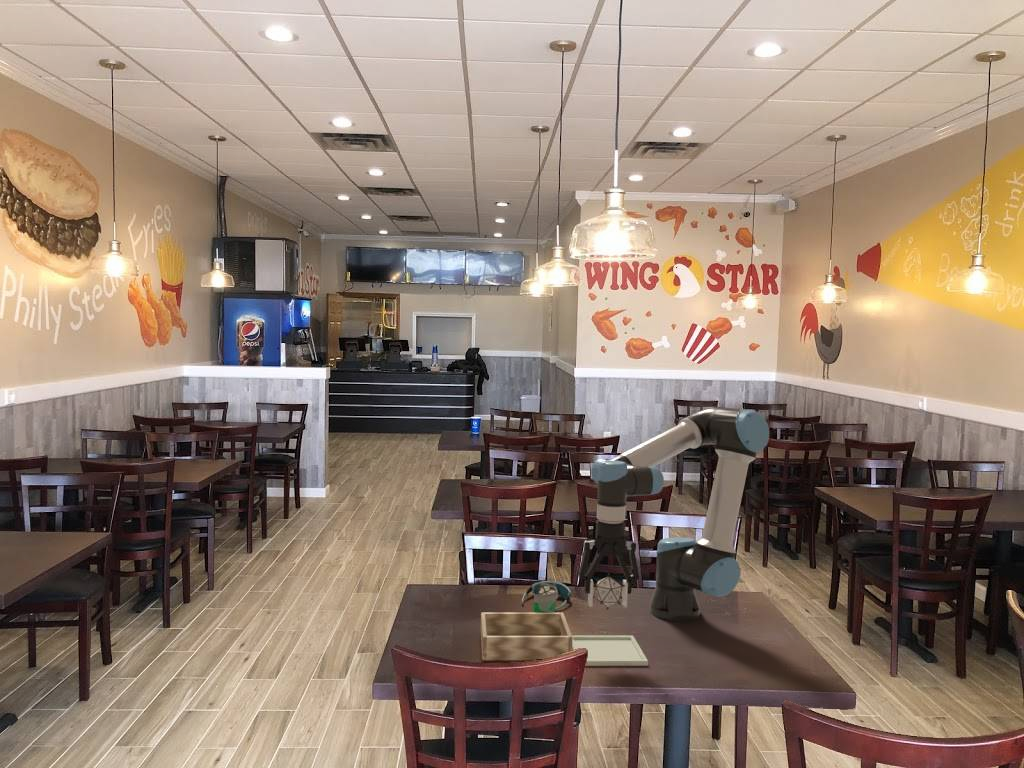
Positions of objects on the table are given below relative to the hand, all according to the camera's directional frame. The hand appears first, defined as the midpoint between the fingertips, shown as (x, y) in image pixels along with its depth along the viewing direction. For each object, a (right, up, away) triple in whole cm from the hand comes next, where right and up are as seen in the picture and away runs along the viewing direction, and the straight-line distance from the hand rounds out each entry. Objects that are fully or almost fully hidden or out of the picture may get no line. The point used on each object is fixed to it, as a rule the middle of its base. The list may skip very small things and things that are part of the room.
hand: (607, 605), depth 201 cm
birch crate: (-22, -12, +3) cm, 25 cm away
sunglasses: (-14, -11, +38) cm, 42 cm away
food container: (-15, -11, +21) cm, 28 cm away
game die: (0, -2, 0) cm, 2 cm away
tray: (0, -13, +1) cm, 13 cm away
